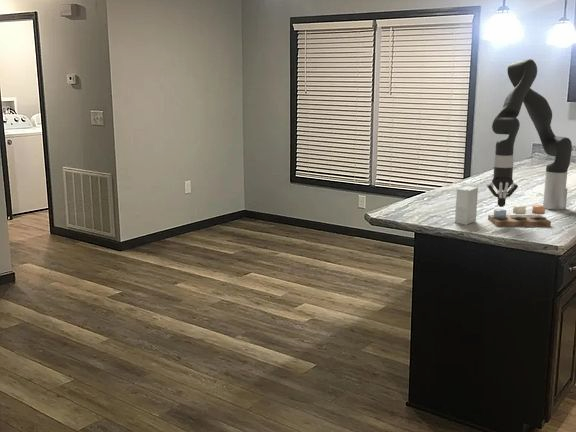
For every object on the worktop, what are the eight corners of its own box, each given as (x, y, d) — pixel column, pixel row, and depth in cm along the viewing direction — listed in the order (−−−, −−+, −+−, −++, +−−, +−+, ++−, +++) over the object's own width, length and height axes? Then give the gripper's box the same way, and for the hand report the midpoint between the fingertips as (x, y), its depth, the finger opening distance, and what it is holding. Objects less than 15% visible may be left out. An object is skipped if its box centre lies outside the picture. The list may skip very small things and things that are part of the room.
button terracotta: (542, 211, 278) (542, 204, 277) (546, 214, 273) (547, 207, 273) (530, 211, 278) (530, 204, 278) (534, 214, 273) (534, 207, 273)
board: (539, 219, 283) (540, 214, 282) (550, 226, 270) (551, 220, 270) (487, 219, 283) (487, 214, 283) (496, 226, 271) (496, 220, 270)
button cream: (523, 211, 278) (523, 204, 278) (527, 214, 273) (527, 207, 273) (511, 211, 278) (511, 204, 278) (515, 214, 274) (515, 207, 273)
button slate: (504, 215, 279) (504, 209, 278) (507, 218, 274) (508, 211, 273) (492, 215, 279) (492, 209, 278) (495, 218, 274) (495, 211, 274)
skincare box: (463, 219, 283) (465, 185, 280) (476, 221, 279) (478, 187, 276) (454, 222, 277) (455, 188, 274) (467, 225, 273) (469, 189, 270)
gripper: (516, 164, 275) (514, 204, 279) (485, 164, 276) (482, 204, 279) (522, 166, 268) (519, 208, 272) (490, 167, 268) (487, 208, 272)
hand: (501, 206), depth 275 cm, fingers closed
